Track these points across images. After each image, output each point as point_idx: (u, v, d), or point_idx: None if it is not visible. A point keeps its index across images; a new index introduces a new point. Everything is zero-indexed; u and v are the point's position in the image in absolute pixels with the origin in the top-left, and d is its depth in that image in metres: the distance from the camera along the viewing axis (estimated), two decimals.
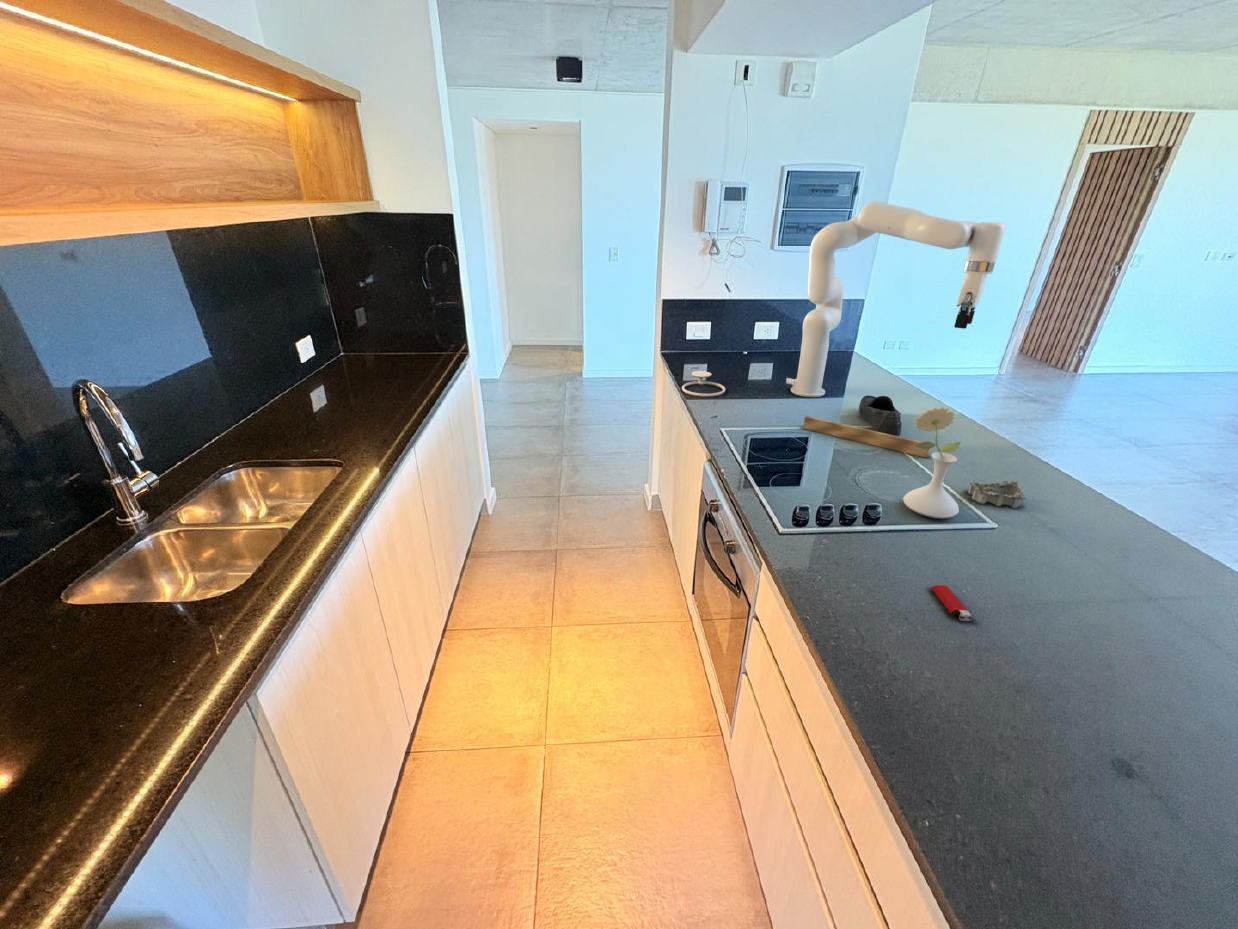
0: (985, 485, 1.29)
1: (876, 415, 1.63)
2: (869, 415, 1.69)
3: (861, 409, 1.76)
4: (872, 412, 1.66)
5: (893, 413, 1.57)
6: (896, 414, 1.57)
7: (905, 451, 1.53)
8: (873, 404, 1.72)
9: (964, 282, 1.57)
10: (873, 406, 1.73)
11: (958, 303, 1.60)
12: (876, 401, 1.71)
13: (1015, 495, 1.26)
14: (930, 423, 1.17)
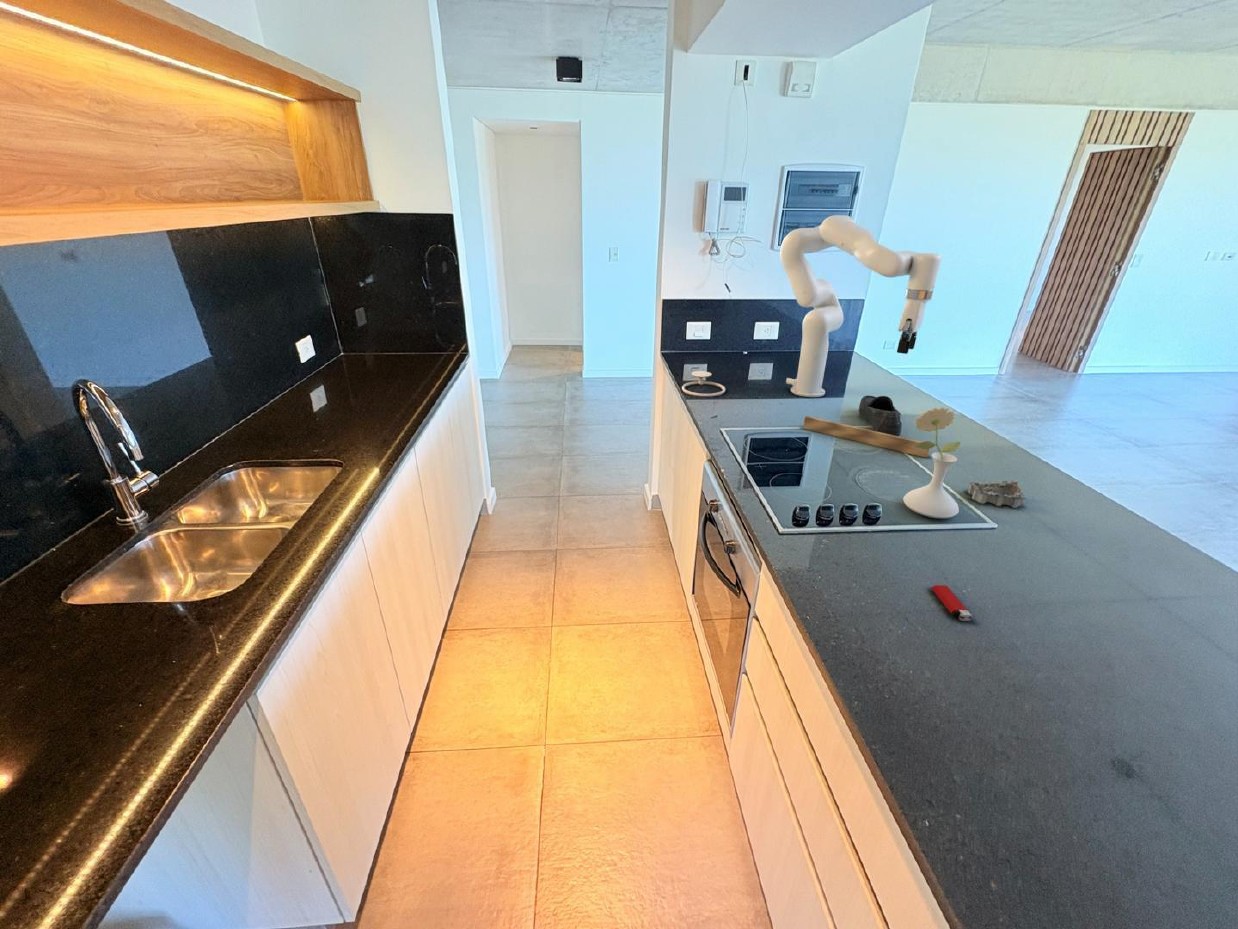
0: (985, 485, 1.29)
1: (876, 415, 1.63)
2: (869, 415, 1.69)
3: (861, 409, 1.76)
4: (872, 412, 1.66)
5: (893, 413, 1.57)
6: (896, 414, 1.57)
7: (905, 451, 1.53)
8: (873, 404, 1.72)
9: (904, 309, 1.66)
10: (873, 406, 1.73)
11: (899, 328, 1.69)
12: (876, 401, 1.71)
13: (1015, 495, 1.26)
14: (930, 423, 1.17)
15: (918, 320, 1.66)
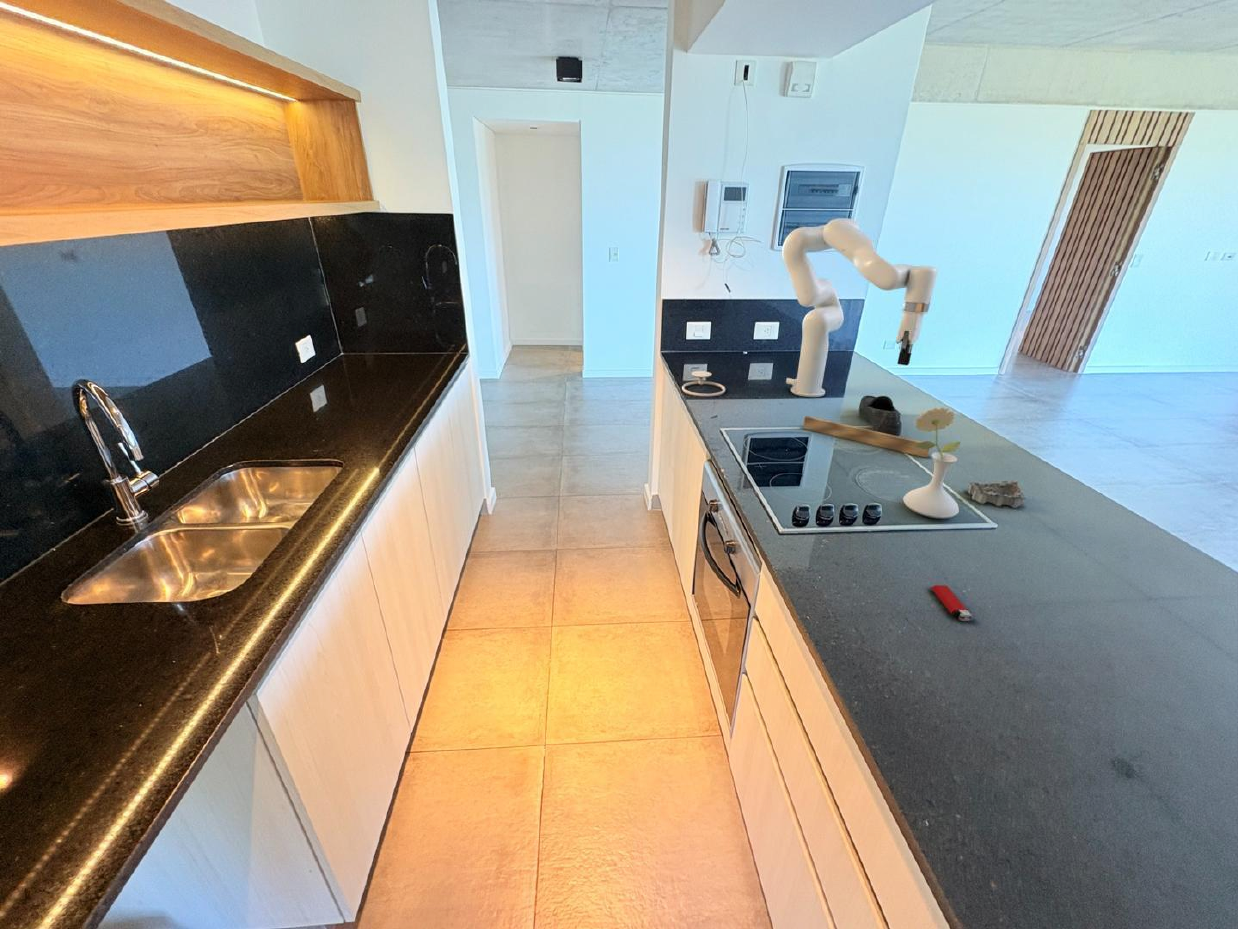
0: (985, 485, 1.29)
1: (876, 415, 1.63)
2: (869, 415, 1.69)
3: (861, 409, 1.76)
4: (872, 412, 1.66)
5: (893, 413, 1.57)
6: (896, 414, 1.57)
7: (905, 451, 1.53)
8: (873, 404, 1.72)
9: (902, 321, 1.68)
10: (873, 406, 1.73)
11: (897, 340, 1.70)
12: (876, 401, 1.71)
13: (1015, 495, 1.26)
14: (930, 423, 1.17)
15: (916, 332, 1.67)
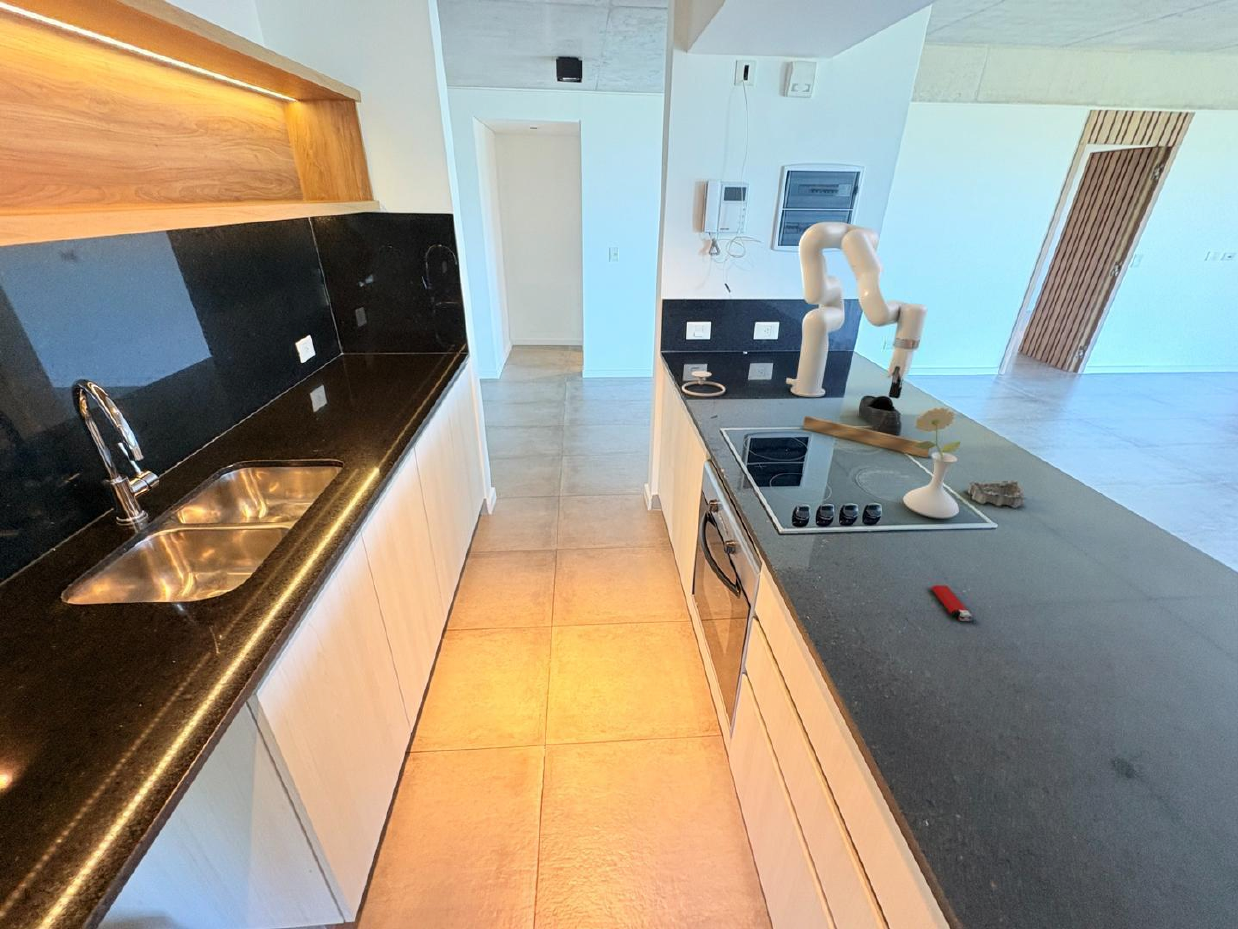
0: (985, 485, 1.30)
1: (876, 415, 1.63)
2: (869, 415, 1.69)
3: (861, 409, 1.76)
4: (872, 412, 1.66)
5: (893, 413, 1.57)
6: (896, 414, 1.57)
7: (905, 451, 1.53)
8: (873, 404, 1.72)
9: (893, 357, 1.72)
10: (873, 406, 1.73)
11: (888, 375, 1.74)
12: (876, 401, 1.71)
13: (1015, 495, 1.26)
14: (930, 423, 1.17)
15: (906, 368, 1.72)
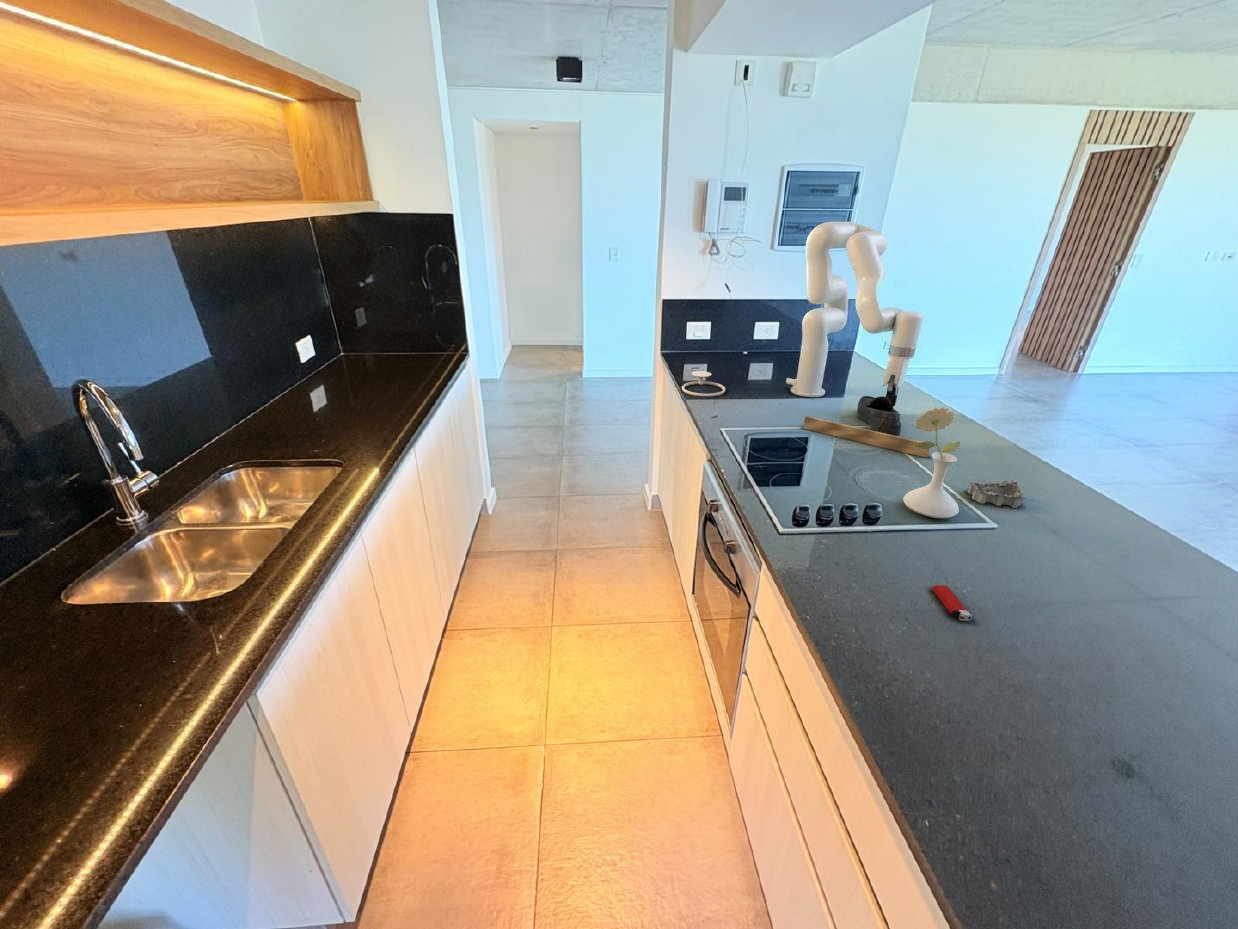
0: (985, 485, 1.30)
1: (875, 416, 1.63)
2: (868, 416, 1.68)
3: (860, 410, 1.76)
4: (871, 413, 1.65)
5: (893, 414, 1.57)
6: (896, 415, 1.57)
7: (905, 451, 1.53)
8: (872, 405, 1.72)
9: (888, 365, 1.69)
10: (872, 407, 1.73)
11: (883, 383, 1.72)
12: (875, 402, 1.70)
13: (1015, 495, 1.26)
14: (930, 423, 1.17)
15: (901, 376, 1.69)
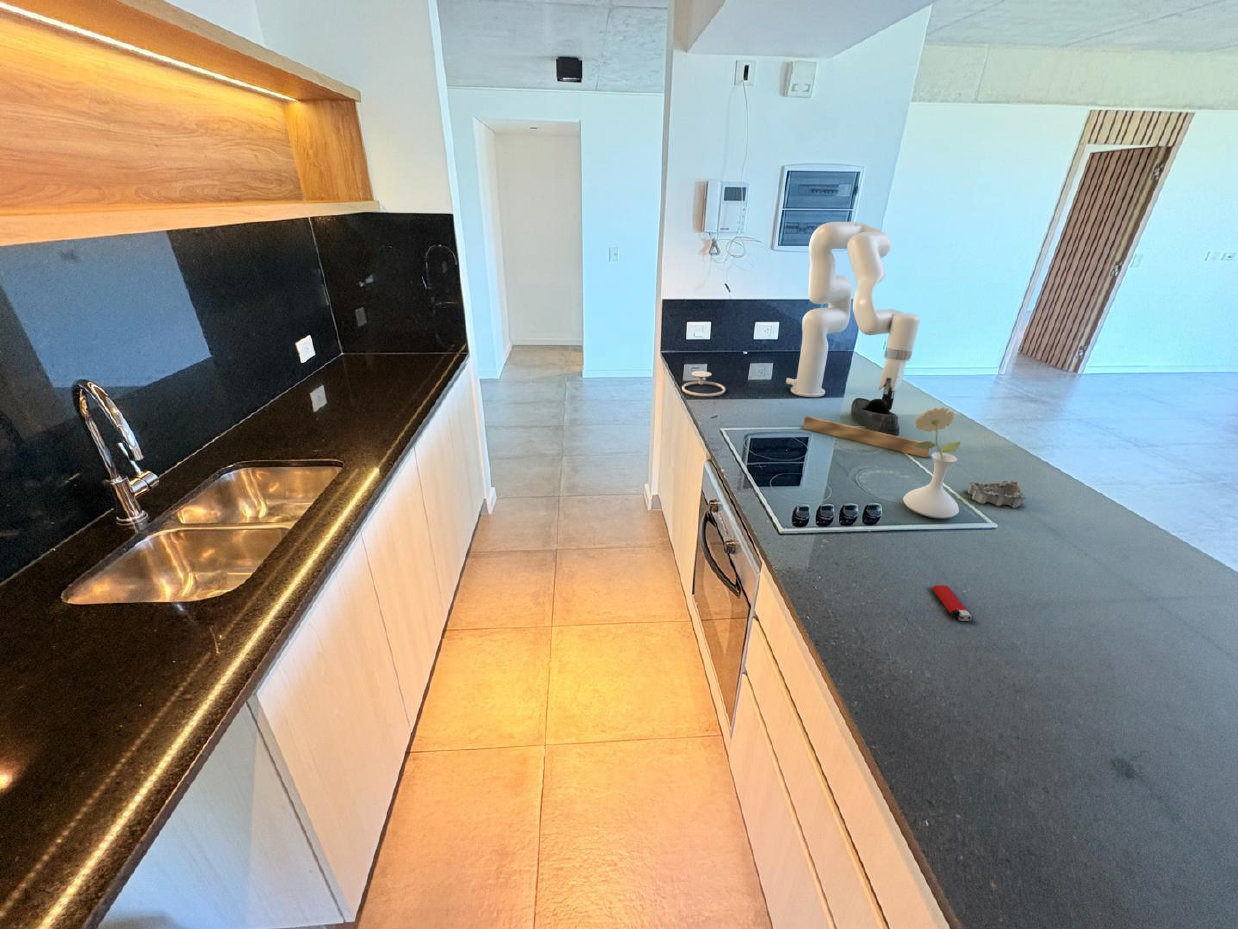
0: (985, 485, 1.30)
1: (873, 419, 1.60)
2: (864, 418, 1.66)
3: (854, 412, 1.73)
4: (868, 415, 1.63)
5: (892, 416, 1.54)
6: (894, 417, 1.55)
7: (905, 451, 1.53)
8: (867, 407, 1.70)
9: (884, 368, 1.66)
10: (867, 409, 1.71)
11: (879, 387, 1.68)
12: (870, 404, 1.68)
13: (1015, 495, 1.26)
14: (930, 423, 1.17)
15: (898, 379, 1.66)
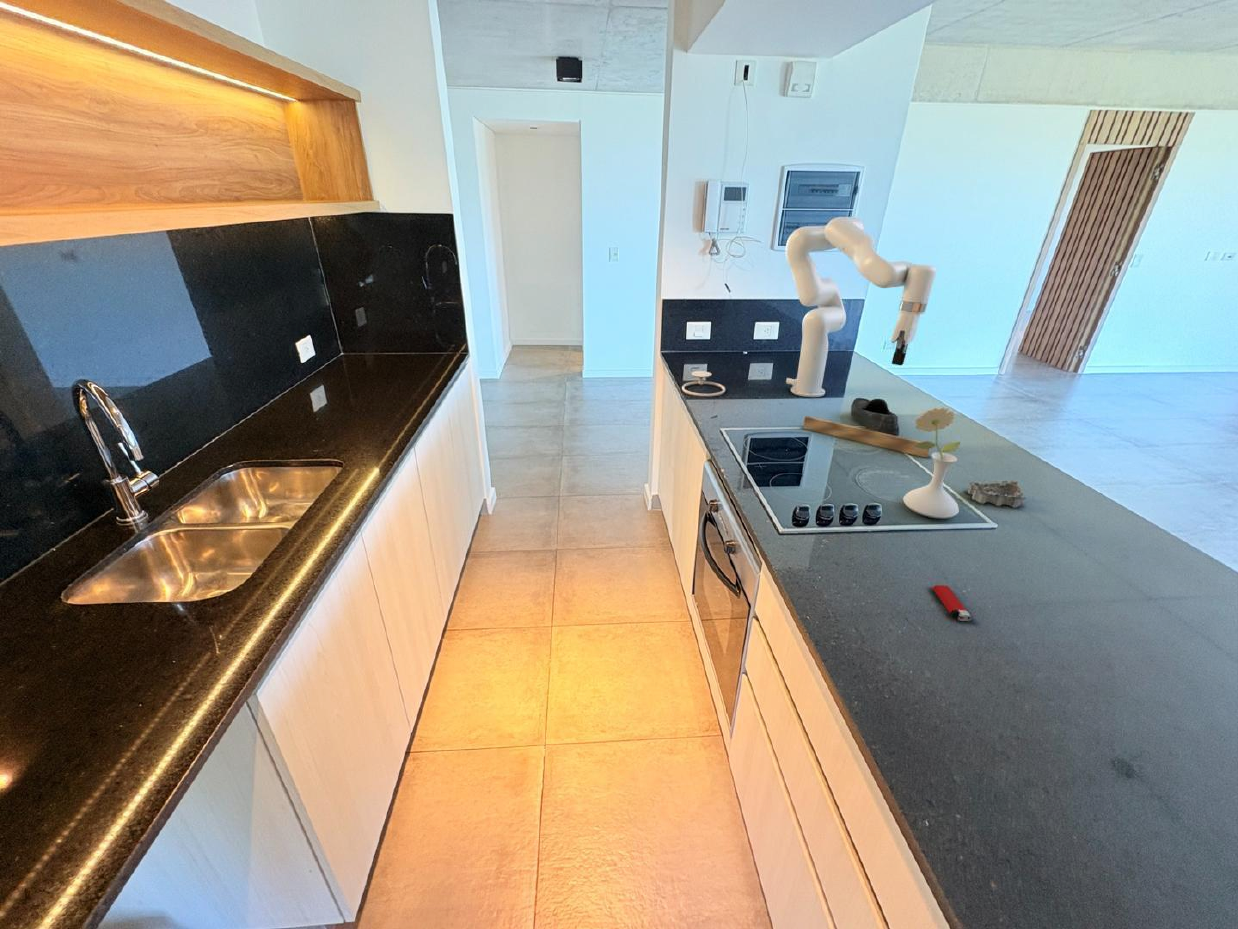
0: (985, 485, 1.30)
1: (873, 419, 1.60)
2: (864, 418, 1.66)
3: (854, 412, 1.73)
4: (868, 416, 1.63)
5: (891, 416, 1.54)
6: (894, 417, 1.55)
7: (905, 451, 1.53)
8: (867, 407, 1.70)
9: (898, 321, 1.65)
10: (867, 409, 1.71)
11: (892, 340, 1.67)
12: (870, 404, 1.68)
13: (1015, 495, 1.26)
14: (930, 423, 1.17)
15: (911, 332, 1.65)
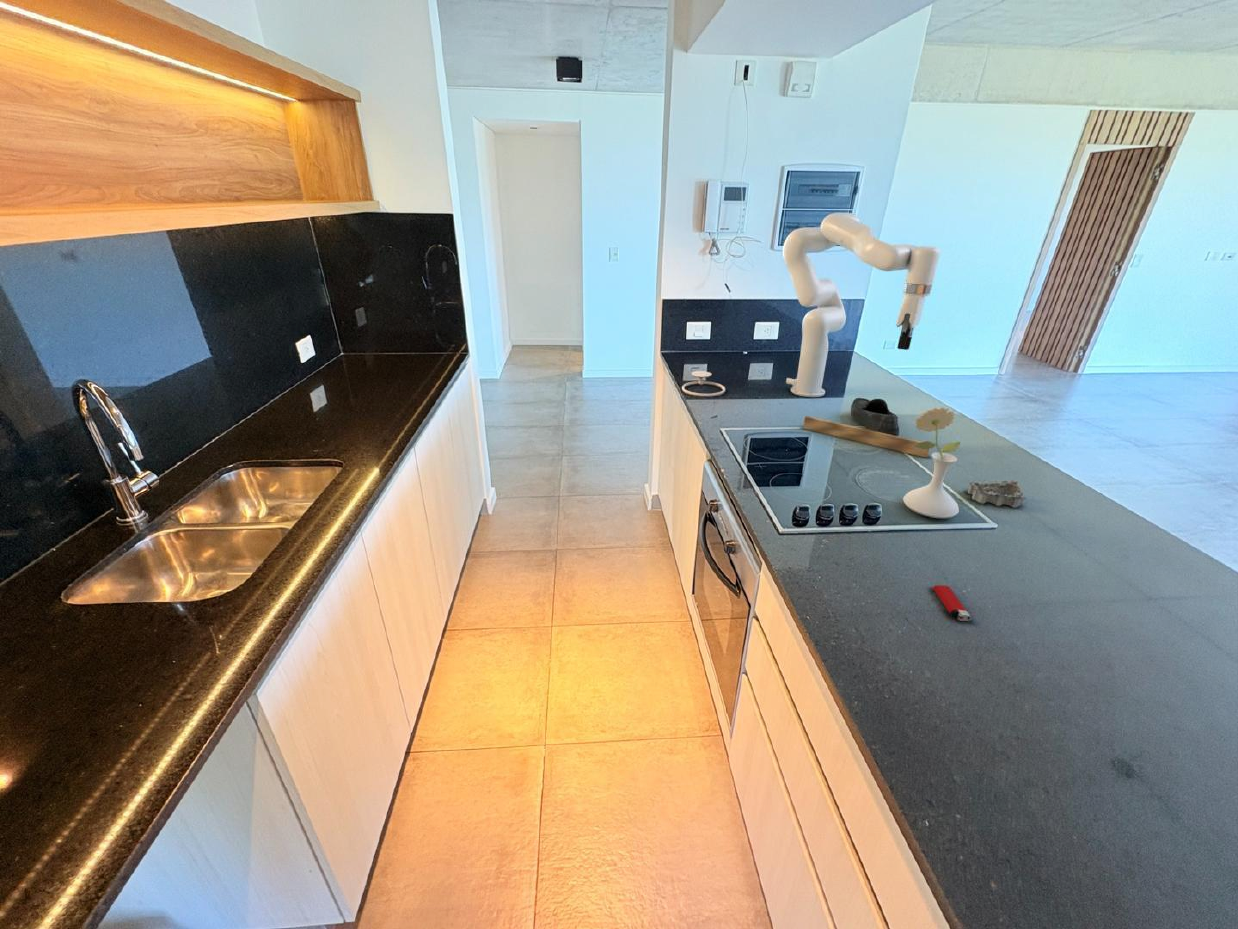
0: (985, 485, 1.30)
1: (873, 419, 1.60)
2: (864, 418, 1.66)
3: (854, 412, 1.73)
4: (868, 416, 1.63)
5: (891, 416, 1.54)
6: (894, 417, 1.55)
7: (905, 451, 1.53)
8: (867, 407, 1.70)
9: (902, 304, 1.63)
10: (867, 409, 1.71)
11: (897, 324, 1.65)
12: (870, 404, 1.68)
13: (1015, 495, 1.26)
14: (930, 423, 1.17)
15: (917, 315, 1.62)
